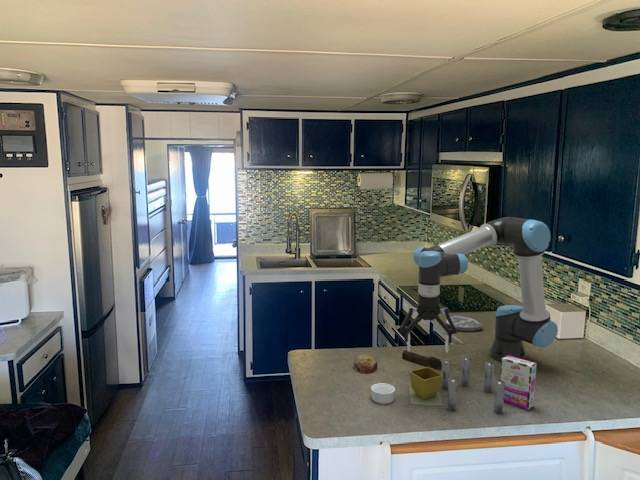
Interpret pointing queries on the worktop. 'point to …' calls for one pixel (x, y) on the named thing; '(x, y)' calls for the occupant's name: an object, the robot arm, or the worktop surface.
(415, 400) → the pad
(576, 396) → the worktop surface
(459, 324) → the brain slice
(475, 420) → the worktop surface
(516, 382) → the candy bar box
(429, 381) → the flower pot
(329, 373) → the worktop surface
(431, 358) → the brown wood log
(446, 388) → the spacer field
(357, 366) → the bread roll
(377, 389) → the ramekin
